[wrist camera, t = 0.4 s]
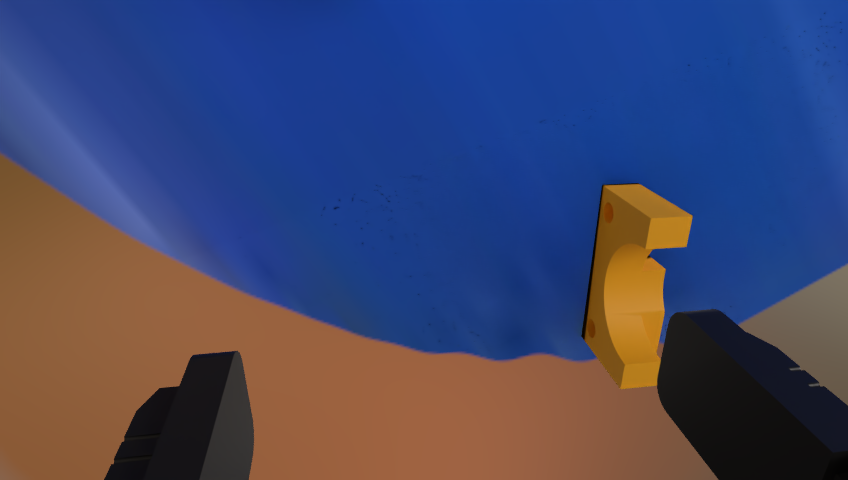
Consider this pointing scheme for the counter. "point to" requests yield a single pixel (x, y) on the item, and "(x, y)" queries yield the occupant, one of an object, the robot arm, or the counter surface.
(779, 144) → the counter surface
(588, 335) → the pipe clamp
